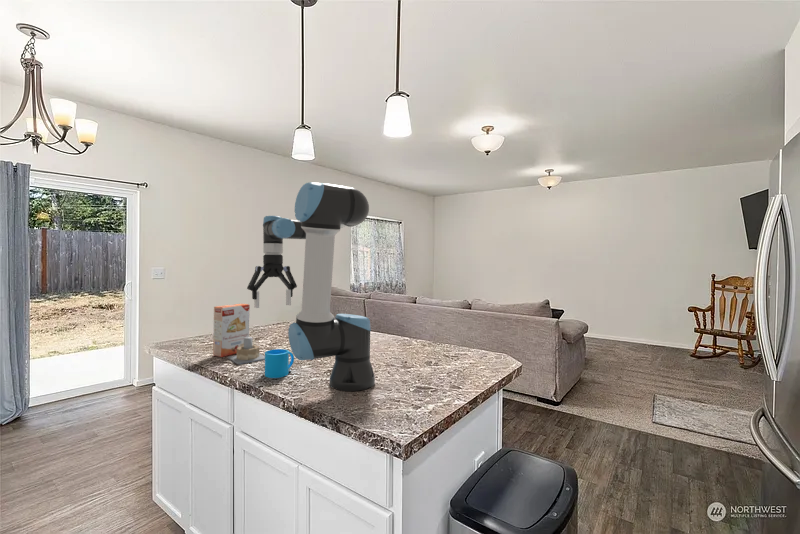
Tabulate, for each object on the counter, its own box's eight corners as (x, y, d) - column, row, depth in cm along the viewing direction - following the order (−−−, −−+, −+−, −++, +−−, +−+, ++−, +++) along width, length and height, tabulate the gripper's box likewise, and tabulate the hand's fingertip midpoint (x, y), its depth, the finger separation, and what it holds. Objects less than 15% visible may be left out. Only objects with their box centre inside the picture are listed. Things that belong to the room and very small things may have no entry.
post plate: (268, 359, 152) (268, 338, 152) (238, 364, 144) (238, 342, 144) (256, 353, 161) (256, 333, 161) (227, 358, 153) (227, 337, 153)
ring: (261, 357, 153) (261, 347, 152) (241, 361, 147) (241, 350, 147) (253, 353, 158) (253, 344, 158) (234, 356, 153) (234, 347, 153)
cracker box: (222, 357, 153) (222, 307, 153) (212, 355, 156) (212, 306, 155) (249, 350, 166) (250, 303, 165) (240, 348, 168) (240, 302, 168)
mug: (275, 379, 128) (275, 356, 128) (259, 375, 132) (259, 352, 132) (301, 370, 138) (301, 348, 138) (285, 367, 142) (286, 345, 142)
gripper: (296, 255, 163) (296, 303, 163) (238, 253, 145) (238, 308, 145) (305, 254, 157) (305, 304, 158) (246, 253, 140) (246, 309, 140)
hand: (273, 306), depth 151 cm, fingers open, 13 cm apart
